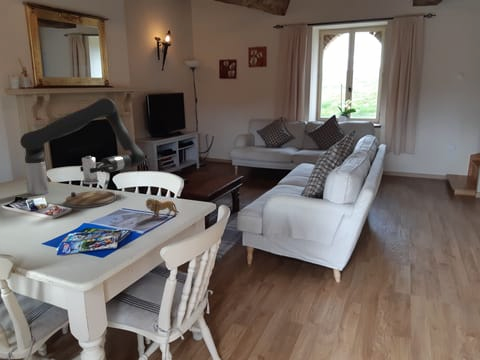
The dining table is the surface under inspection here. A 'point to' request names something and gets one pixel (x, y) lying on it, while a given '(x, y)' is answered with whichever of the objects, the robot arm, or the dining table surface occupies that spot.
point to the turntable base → (91, 205)
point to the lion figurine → (160, 206)
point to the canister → (87, 164)
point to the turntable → (90, 198)
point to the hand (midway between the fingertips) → (85, 170)
